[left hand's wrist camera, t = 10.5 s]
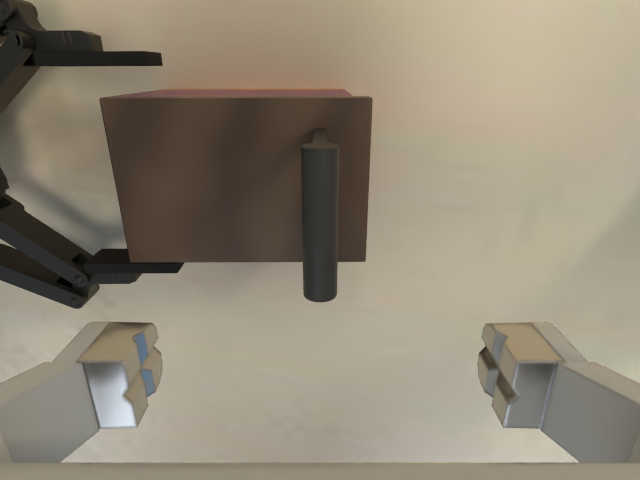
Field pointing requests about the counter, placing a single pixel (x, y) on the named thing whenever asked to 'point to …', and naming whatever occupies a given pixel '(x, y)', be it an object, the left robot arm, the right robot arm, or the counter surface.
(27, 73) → the right robot arm
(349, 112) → the lid
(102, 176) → the counter surface
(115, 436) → the counter surface
